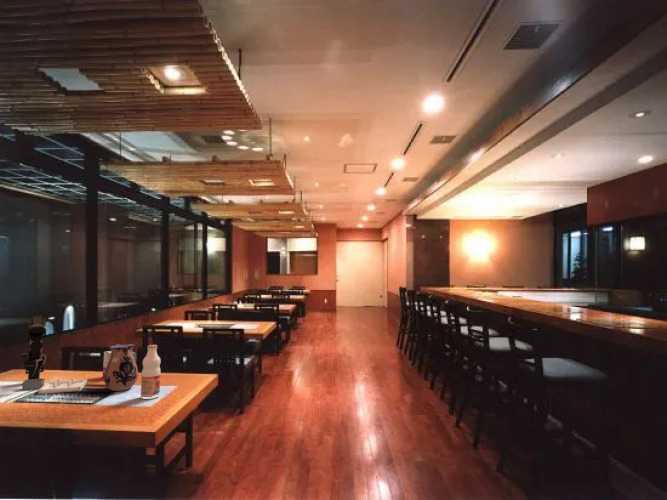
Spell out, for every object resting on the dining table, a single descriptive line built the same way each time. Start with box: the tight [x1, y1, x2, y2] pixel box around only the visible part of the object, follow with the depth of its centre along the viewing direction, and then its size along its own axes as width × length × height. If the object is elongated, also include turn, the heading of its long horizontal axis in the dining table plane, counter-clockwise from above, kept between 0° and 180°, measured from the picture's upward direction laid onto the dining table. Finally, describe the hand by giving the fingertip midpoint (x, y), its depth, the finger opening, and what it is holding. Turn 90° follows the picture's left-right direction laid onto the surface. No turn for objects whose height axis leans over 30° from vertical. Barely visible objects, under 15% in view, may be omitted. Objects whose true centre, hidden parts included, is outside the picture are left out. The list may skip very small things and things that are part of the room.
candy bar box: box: [102, 350, 111, 378], centre depth 257 cm, size 11×5×16 cm, turn 68°
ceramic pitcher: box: [103, 343, 139, 392], centre depth 234 cm, size 18×21×25 cm
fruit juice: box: [140, 344, 162, 398], centre depth 219 cm, size 9×9×28 cm
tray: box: [37, 377, 88, 395], centre depth 231 cm, size 17×20×4 cm
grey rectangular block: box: [21, 378, 45, 391], centre depth 230 cm, size 5×9×5 cm, turn 110°
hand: (34, 375), depth 230 cm, fingers open, 9 cm apart
